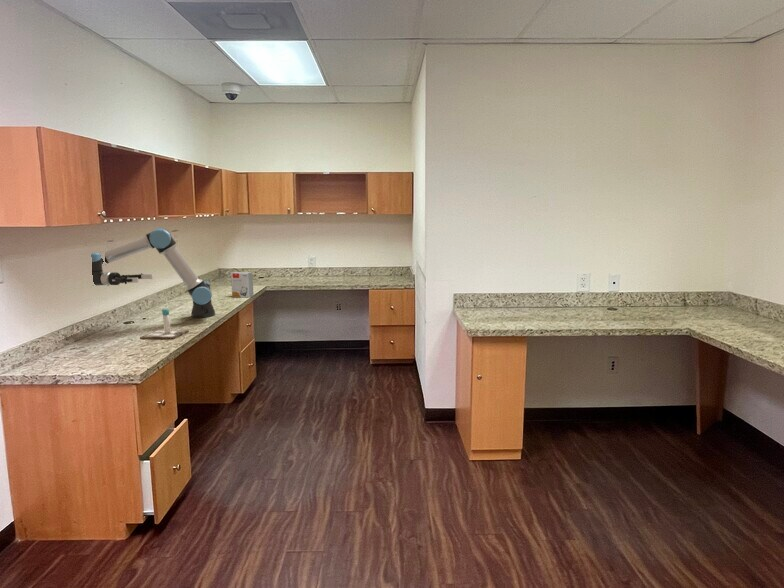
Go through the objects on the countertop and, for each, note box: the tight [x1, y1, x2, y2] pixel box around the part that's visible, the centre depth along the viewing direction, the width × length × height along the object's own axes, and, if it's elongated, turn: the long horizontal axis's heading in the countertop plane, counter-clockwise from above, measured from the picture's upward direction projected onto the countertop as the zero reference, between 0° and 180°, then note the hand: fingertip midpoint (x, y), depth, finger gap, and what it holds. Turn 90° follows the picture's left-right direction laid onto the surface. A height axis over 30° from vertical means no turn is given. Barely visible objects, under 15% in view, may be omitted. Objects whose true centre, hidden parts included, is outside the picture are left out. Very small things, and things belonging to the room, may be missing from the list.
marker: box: [161, 308, 172, 334], centre depth 285 cm, size 3×3×14 cm
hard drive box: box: [230, 271, 255, 299], centre depth 405 cm, size 16×8×20 cm, turn 77°
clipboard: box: [139, 329, 190, 340], centre depth 286 cm, size 16×20×2 cm
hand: (145, 278), depth 296 cm, fingers open, 13 cm apart
